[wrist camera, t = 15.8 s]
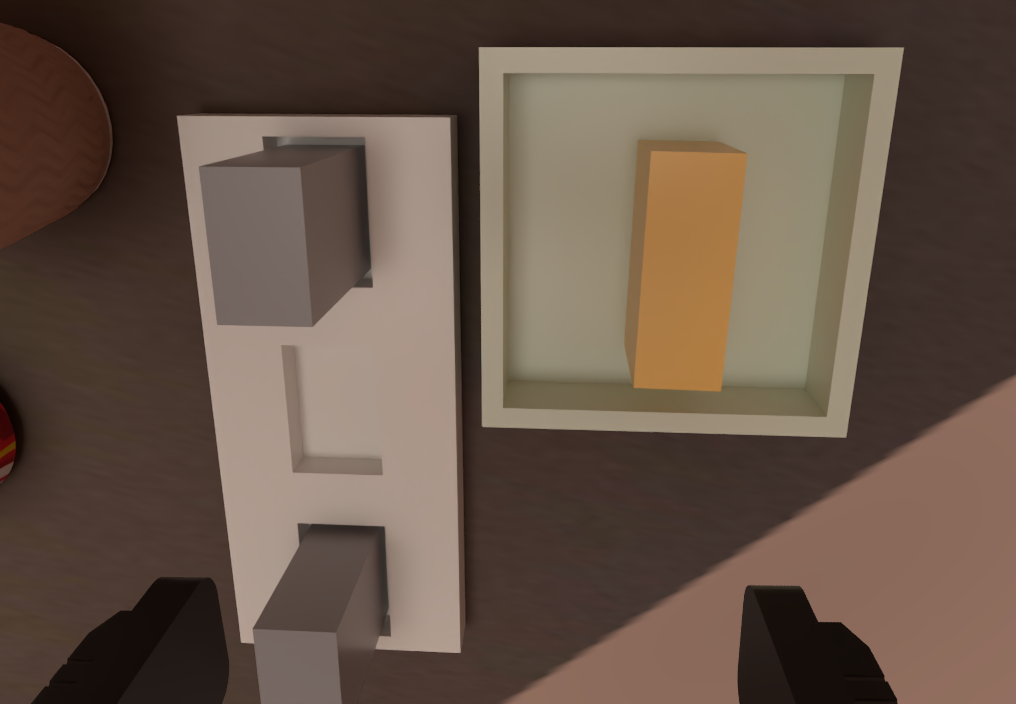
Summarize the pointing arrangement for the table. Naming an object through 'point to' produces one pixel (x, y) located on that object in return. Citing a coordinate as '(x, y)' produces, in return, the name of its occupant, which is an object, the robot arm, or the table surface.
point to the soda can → (6, 444)
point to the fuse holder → (349, 379)
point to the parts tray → (608, 228)
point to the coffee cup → (46, 134)
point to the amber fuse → (682, 262)
